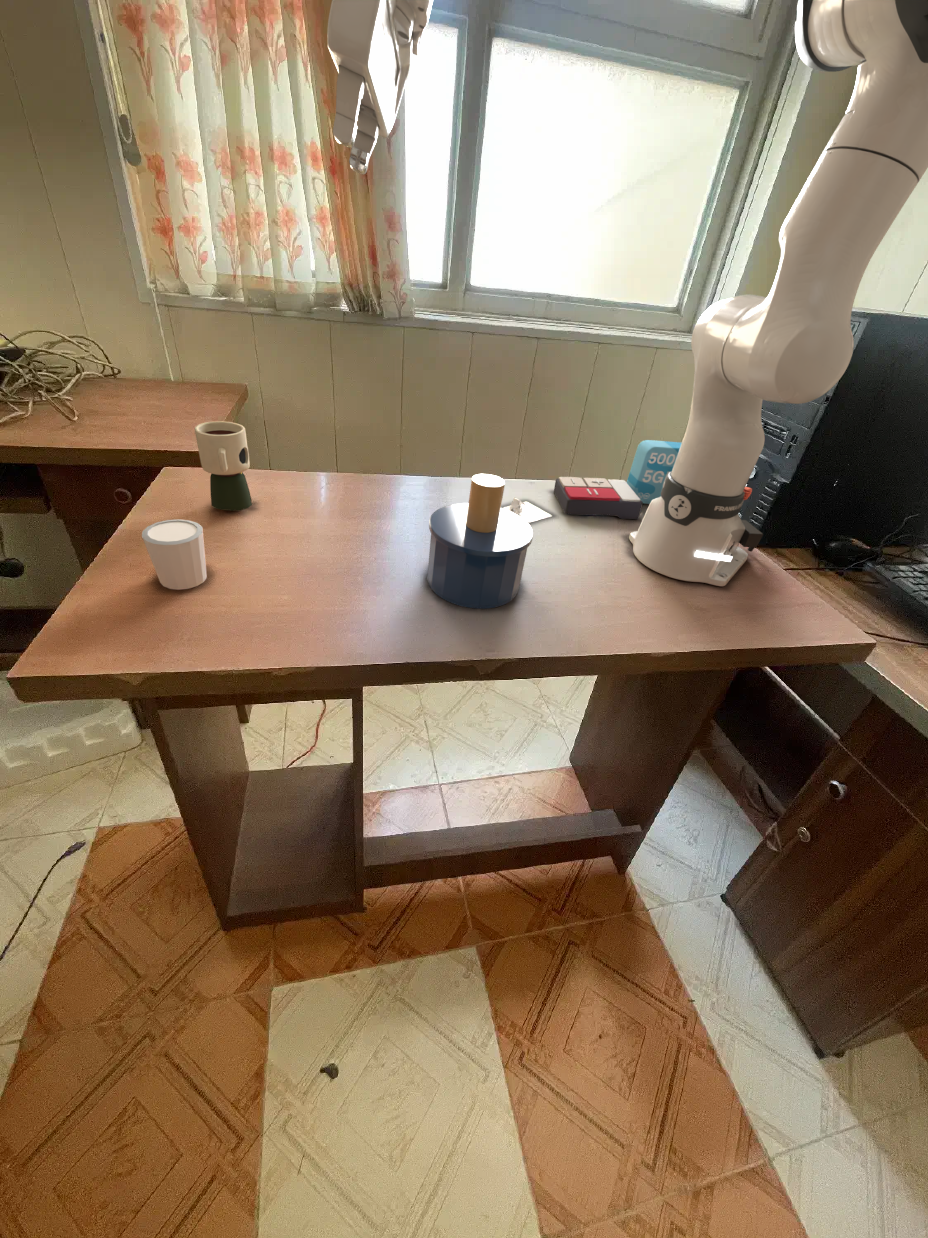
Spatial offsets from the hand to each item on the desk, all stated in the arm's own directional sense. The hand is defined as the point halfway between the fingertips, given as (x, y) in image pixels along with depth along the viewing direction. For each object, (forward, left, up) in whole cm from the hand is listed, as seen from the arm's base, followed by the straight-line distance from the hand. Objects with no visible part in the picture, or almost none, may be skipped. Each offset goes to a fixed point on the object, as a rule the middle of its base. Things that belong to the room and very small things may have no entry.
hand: (350, 157), depth 53 cm
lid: (-11, +16, -37) cm, 42 cm away
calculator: (-52, +6, -46) cm, 69 cm away
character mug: (+10, -22, -46) cm, 52 cm away
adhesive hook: (-35, +2, -46) cm, 58 cm away
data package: (-67, +10, -46) cm, 82 cm away
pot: (-11, +16, -46) cm, 50 cm away
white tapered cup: (+23, -4, -46) cm, 52 cm away
